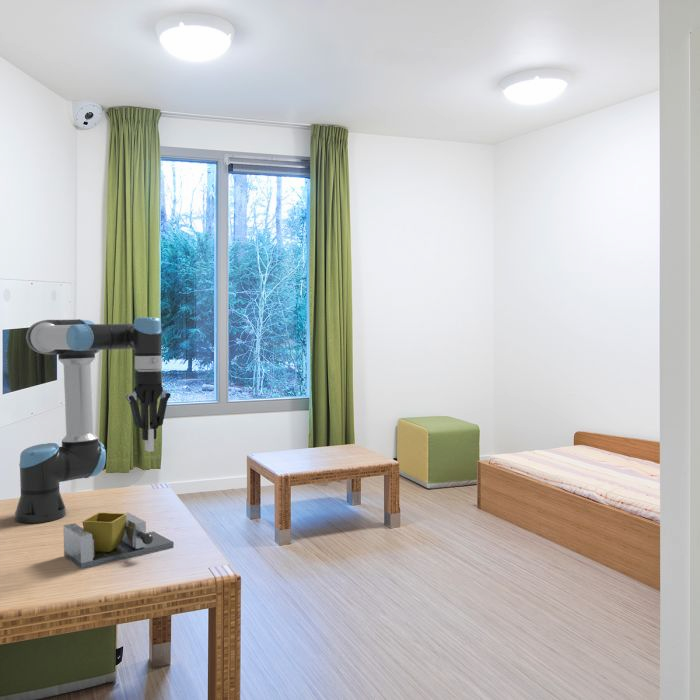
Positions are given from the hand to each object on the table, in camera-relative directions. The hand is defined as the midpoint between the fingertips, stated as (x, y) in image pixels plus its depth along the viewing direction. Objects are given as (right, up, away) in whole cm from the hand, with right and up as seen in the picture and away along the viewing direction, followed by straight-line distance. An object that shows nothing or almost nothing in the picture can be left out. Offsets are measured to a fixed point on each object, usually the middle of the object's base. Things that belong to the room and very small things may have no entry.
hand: (149, 450), depth 202 cm
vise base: (-6, -27, -9) cm, 29 cm away
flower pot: (-9, -26, -12) cm, 30 cm away
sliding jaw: (-1, -25, -9) cm, 27 cm away
